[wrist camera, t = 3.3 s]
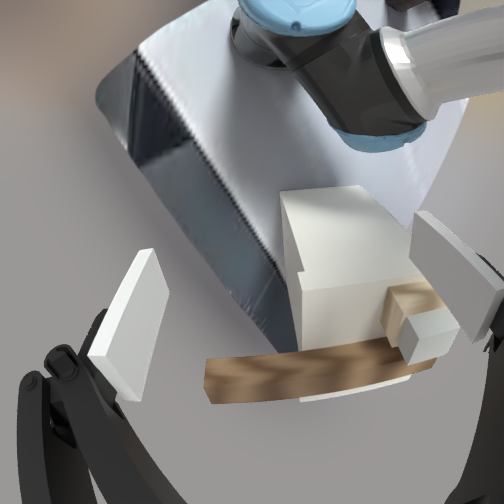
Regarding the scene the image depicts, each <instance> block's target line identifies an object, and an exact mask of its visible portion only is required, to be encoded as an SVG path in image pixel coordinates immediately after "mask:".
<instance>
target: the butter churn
mask: <svg viewBox="0 0 504 504" xmlns="http://www.w3.org/2000/svg"><path fill="white" fill-rule="evenodd" d="M386 1H387V3H388V4H389V5H390V6H392V7H394V9H395V10H398V11H401V12H402V11H405V10H407V9H409V8H411V7H413V6H416V5H418V4H420V3H422V2H425V1H429V0H386Z"/></svg>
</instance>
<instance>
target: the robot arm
mask: <svg viewBox="0 0 504 504" xmlns="http://www.w3.org/2000/svg"><path fill="white" fill-rule="evenodd" d="M238 2H239V5H240V6H239V7H238V8H237V9H236V11H235V13H234V15H233V17H232V20H231V25H230V31H231V37H232V40H233V43H234V45H235V47H236V49H237V50H238V51H239V53H240V54H241V55H242V56H243V57H244V58H245V59H247V60H248V61H250V62H251V63H253V64H255V65H257V66H260V67H263V68H267V69H273V70H283V69H289V70H290V71H291V72H292V74H293V75H294V77H295V78H296V79H297V80H298V81H299V83H300V84H301V85H302V86H303V88H304V89H305V90H306V92H307V93H308V94H309V95H310V97H311V98H312V99H313V101H314V102H315V103H316V105H317V106H318V107H319V109H320V110H321V111H322V113H323V114H324V115H325V117H326V118H327V122H328V124H329V125H330V126H331V127H332V128H333V129H334V130H335V131H336V132H337V133H338V134H339V136H340V137H341V138H342V140H343V141H344V142H345V143H346V144H347V145H348V146H349V147H351V148H352V149H355V150H357V151H361V152H367V153H378V152H386V151H391V150H395V149H397V148H400V147H403V146H404V143H411V142H413V141H415V140H416V139H418V138H419V137H420V136H421V135H422V134H423V132H424V131H425V128H426V125H427V122H426V121H430V120H433V119H434V118H435V116H436V114H437V112H438V109H439V107H440V105H441V104H442V103H446V102H450V101H455V100H459V99H464V98H469V97H474V96H479V95H484V94H490V93H496V92H501V91H504V4H502V5H498V6H492V7H487V8H483V9H479V10H474V11H471V12H467V13H463V14H459V15H456V16H452V17H449V18H446V19H443V20H439V21H436V22H433V23H430V24H428V25H425V26H422V27H419V28H416V29H414V30H411V31H408V32H402V31H400V30H397V29H395V28H392V27H389V26H385V27H382V28H380V29H378V30H375V31H373V30H372V29H371V28H370V26H369V25H368V24H367V23H366V21H365V20H364V19H363V17H362V16H361V15H360V14H359V12H358V11H357V10H356V0H238ZM408 258H409V259H410V260H411V261H412V262H413V264H414V265H415V266H416V267H417V268H418V270H419V271H420V272H421V273H422V275H423V276H424V277H425V278H426V280H427V281H428V282H429V284H430V285H431V286H432V287H433V289H434V290H435V291H436V293H437V294H438V295H439V297H440V298H441V299H442V301H443V302H444V303H445V305H446V306H447V307H448V309H449V310H450V312H451V313H452V314H453V316H454V317H455V319H456V320H457V322H458V323H459V324H460V326H461V327H462V329H463V330H464V332H465V333H466V335H467V336H468V338H469V339H470V341H471V342H472V343H475V342H477V341H479V340H481V339H483V338H484V337H485V336H486V333H487V332H488V330H489V328H490V329H491V330H492V332H493V334H492V335H491V337H490V339H489V341H488V343H487V345H486V346H485V348H484V352H486V350H487V348H488V347H489V346H490V349H489V352H488V353H489V361H488V369H487V377H486V384H485V390H484V396H483V401H482V407H481V411H480V416H479V420H478V425H477V429H476V433H475V436H474V440H473V444H472V447H471V450H470V454H469V457H468V460H467V463H466V466H465V468H464V471H463V474H462V477H461V479H460V482H459V483H458V485H457V487H456V488H455V489H454V490H453V491H452V492H451V494H450V495H449V497H448V498H447V500H446V502H445V503H444V504H504V277H503V276H502V275H501V274H500V273H499V272H498V271H496V269H495V268H494V267H493V266H492V265H491V264H490V263H489V262H488V261H487V260H486V259H485V258H484V257H482V256H481V255H479V254H477V253H475V252H474V251H473V250H472V249H470V248H469V247H468V246H467V245H466V244H465V243H464V242H463V241H462V240H461V239H459V238H458V237H457V236H456V235H455V234H454V233H452V232H451V231H450V230H449V229H448V228H447V227H446V226H444V225H443V224H442V223H441V222H440V221H438V220H437V219H436V218H435V217H434V216H432V215H431V214H430V213H429V212H427V211H416V212H414V222H413V229H412V237H411V244H410V250H409V257H408ZM169 294H170V292H169V289H168V287H167V284H166V282H165V279H164V277H163V274H162V271H161V268H160V266H159V263H158V260H157V257H156V254H155V252H154V249H153V248H152V249H145V250H140V251H139V252H138V254H137V256H136V258H135V259H134V261H133V263H132V265H131V267H130V269H129V271H128V272H127V274H126V276H125V278H124V280H123V281H122V284H121V285H120V287H119V289H118V291H117V293H116V295H115V297H114V299H113V301H112V303H111V305H110V307H109V309H103V310H102V311H101V312H100V313H99V314H98V315H97V316H96V318H95V320H94V322H93V324H92V328H90V330H89V332H88V335H87V336H86V338H85V341H84V343H83V345H82V347H81V349H80V351H79V353H78V356H77V355H76V353H75V352H74V351H73V349H72V348H71V347H70V346H69V345H66V344H62V345H59V346H56V347H55V348H53V349H52V350H51V351H50V352H49V353H48V354H47V356H46V358H45V360H44V367H45V368H46V370H47V371H48V372H49V373H50V374H51V375H52V376H53V377H49V378H44V376H42V374H41V373H40V372H39V371H36V370H35V371H31V372H29V373H27V374H26V375H25V376H24V377H23V379H22V381H21V382H20V386H19V395H18V410H17V459H18V473H19V483H20V491H21V498H22V504H97V501H96V497H95V494H94V490H93V486H92V482H91V478H90V474H89V470H90V472H91V474H92V476H93V478H94V480H95V482H96V484H97V485H98V488H99V490H100V491H101V493H102V495H103V496H104V499H105V500H106V502H107V504H187V503H186V502H185V501H184V500H183V498H182V497H181V496H180V495H179V493H178V492H177V491H176V490H175V488H174V487H173V486H172V485H171V483H170V482H169V481H168V480H167V478H166V477H165V476H164V475H163V473H162V472H161V470H160V469H159V468H158V466H157V465H156V463H155V462H154V461H153V459H152V458H151V457H150V455H149V453H148V452H147V450H146V449H145V448H144V446H143V444H142V443H141V441H140V440H139V438H138V437H137V435H136V434H135V432H134V430H133V429H132V427H131V425H130V424H129V422H128V420H127V419H126V417H125V415H124V413H123V412H122V410H121V408H120V406H119V404H118V403H117V402H116V401H115V397H116V394H117V393H118V394H119V395H120V396H121V397H122V398H123V400H128V401H141V399H142V394H143V390H144V386H145V382H146V378H147V373H148V369H149V366H150V362H151V357H152V353H153V350H154V346H155V342H156V339H157V335H158V331H159V328H160V324H161V321H162V317H163V314H164V310H165V307H166V303H167V300H168V297H169ZM50 421H51V424H50ZM88 468H89V470H88Z"/></svg>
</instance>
